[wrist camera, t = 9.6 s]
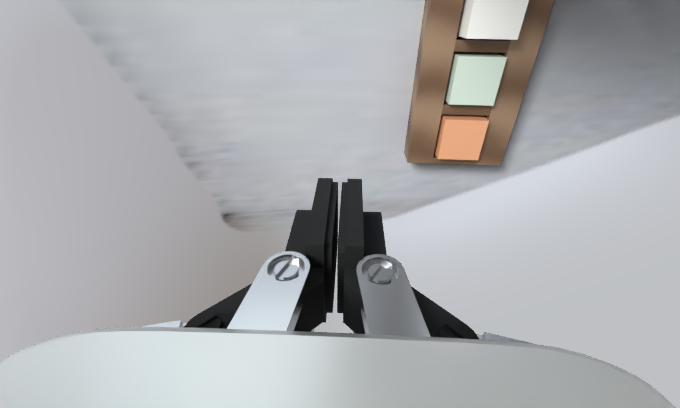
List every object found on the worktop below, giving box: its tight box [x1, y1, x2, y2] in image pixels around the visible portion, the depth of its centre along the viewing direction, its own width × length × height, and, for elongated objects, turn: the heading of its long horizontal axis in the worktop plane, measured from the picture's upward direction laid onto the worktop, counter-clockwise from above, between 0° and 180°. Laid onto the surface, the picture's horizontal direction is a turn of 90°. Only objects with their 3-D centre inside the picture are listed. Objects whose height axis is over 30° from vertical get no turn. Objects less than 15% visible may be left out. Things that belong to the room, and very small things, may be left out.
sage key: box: [444, 52, 507, 106], centre depth 32 cm, size 5×5×3 cm
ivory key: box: [457, 0, 529, 40], centre depth 28 cm, size 5×5×3 cm
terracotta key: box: [434, 114, 489, 160], centre depth 36 cm, size 5×5×3 cm
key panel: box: [404, 0, 555, 166], centre depth 33 cm, size 19×11×3 cm, turn 179°
